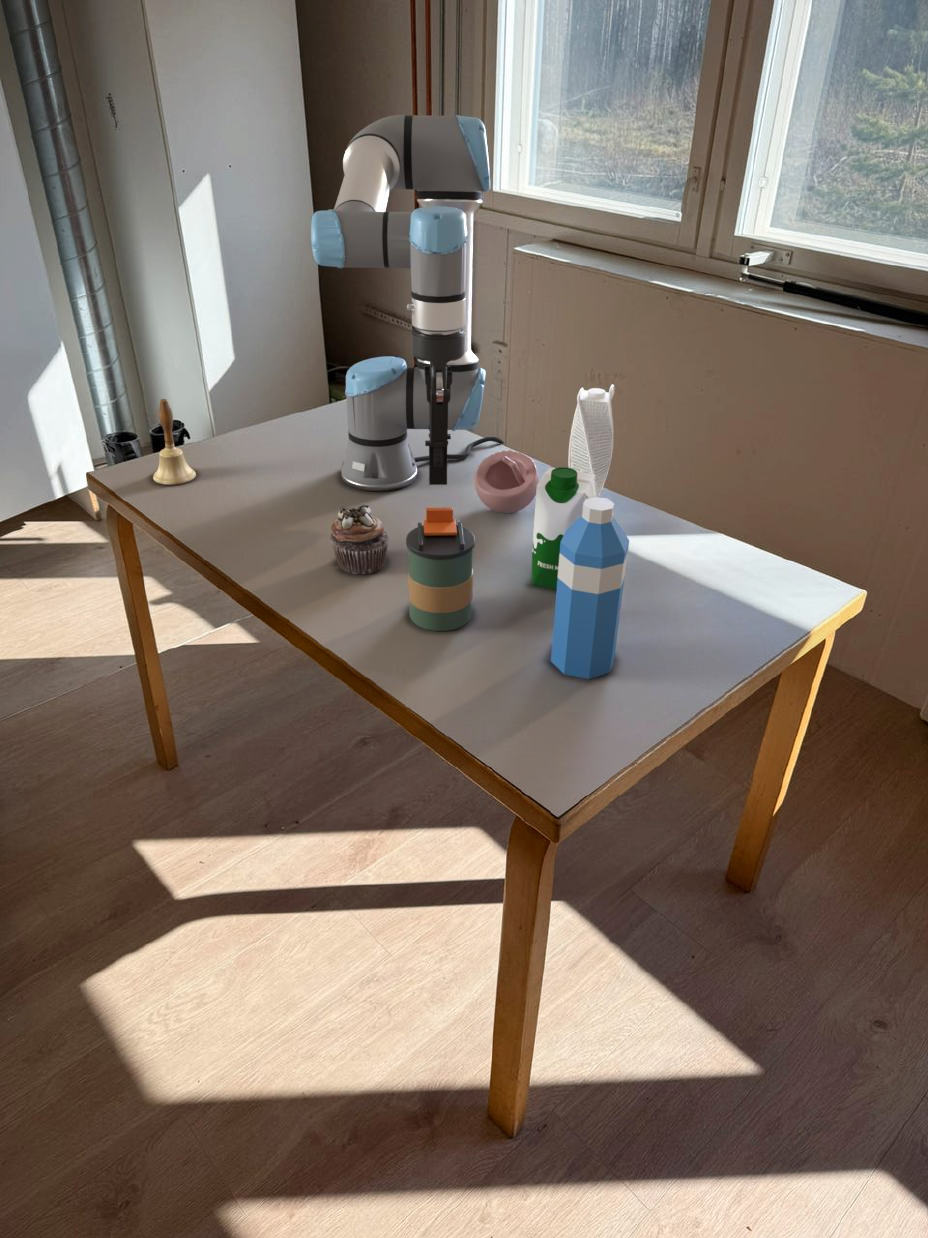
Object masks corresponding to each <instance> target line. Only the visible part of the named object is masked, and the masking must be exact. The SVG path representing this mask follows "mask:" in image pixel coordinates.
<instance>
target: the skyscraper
mask: <svg viewBox="0 0 928 1238" xmlns="http://www.w3.org/2000/svg"><path fill="white" fill-rule="evenodd" d="M614 395H615V384H611V385H610V386H609V390H608V392H607V391H606V390H605V389H603V388H600V387H592V388H589V389H587V390H585V389H584V387H581V388H580V389H579V391H578V392H577V396H576V402H577V404H576V407H575V410H574V415H573V418H572V423H571V430H570V436H569V443H568V458H567V459H568V460H567V463H568V464H567V465H568V468H571V469H574V470H575V471H577V472H583V473H590V474H595V479H594V497H600V496H601V493H602V491H603V489H604V486H605V483H606V480H607V477H608V474H609V472H610V466H611V464H612V463H611V462H612V458H613V452H614V437H615V436H614V435H615V434H614V431H615V430H614V418H613V417H614V416H613V406H612V400H613V397H614Z"/></svg>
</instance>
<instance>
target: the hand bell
mask: <svg viewBox="0 0 928 1238" xmlns="http://www.w3.org/2000/svg"><path fill="white" fill-rule="evenodd" d="M158 420H159V423H160V425H161V428H162V430H163V435H164V445H165V447H164V448H163V449H161V450H160V451H159V453H158V455H159V457H158V458H159V463H158V468H157V470H156V471H155V472H154V474H153V476H152V479H153V481H154V482H155V483H157V484H160V485H165V486H167V485H168V486H173V485H182V484H185V483H188V482H190V481H192V480H194V479H195V478H196V476H197V473H196V472H195V470H194V469H193V468H191V467H190V466H189V464H188V463H187V461H186V459H185V455H184V453H183V450H182V449H180V447H176V446H175V440H174V435H173V426H174V425H173V424H174V415H173V410H172V408H171V406H170V403H169V402H168V399H167V398H161V399H160V400H159V406H158Z"/></svg>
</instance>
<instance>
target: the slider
mask: <svg viewBox="0 0 928 1238" xmlns="http://www.w3.org/2000/svg"><path fill="white" fill-rule="evenodd" d="M423 525H424V536H433V535H457V530H456V525H457V521H456V518H454V508H453V507H425V519H423Z"/></svg>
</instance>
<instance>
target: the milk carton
mask: <svg viewBox="0 0 928 1238" xmlns="http://www.w3.org/2000/svg"><path fill="white" fill-rule="evenodd" d="M594 479H595V474H590V473H583V472H577V471H575V470H574V469H571V468H569V467H565V466H562V467H548V469H547V470H546V472H544V473H543V474H542V477H541V479H539V483H538V485H537V491H536V495H535V505H534V519H533V533H532V534H533V536H532V550H531V575H532V578H531V579H532V580H531V582H532V586H536V587H542V588H548V589H552V590H557V579H558V567H559V555H560V543H561V540H562V538H563V536H564V534H565V532H566V530H567V529H568V528H569V527H570V526H571V525H572V524H573V523H574V522H575V521H576V520H577V519H578V518H579V517H580V516H581V515H582V512H583V504H584V501H585V499H588V498H593V497H594Z"/></svg>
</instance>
